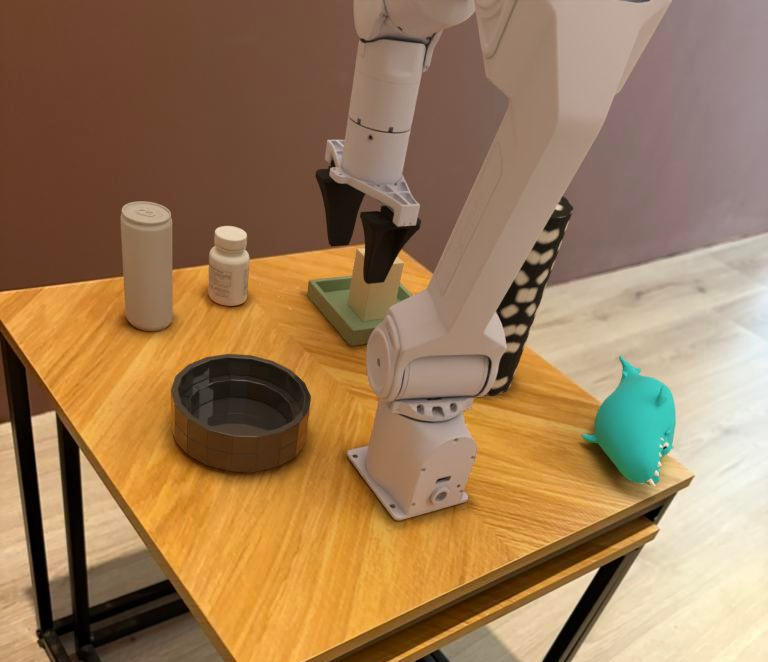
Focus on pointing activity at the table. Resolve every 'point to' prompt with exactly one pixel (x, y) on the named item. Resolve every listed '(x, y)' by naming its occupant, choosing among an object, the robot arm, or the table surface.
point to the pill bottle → (229, 267)
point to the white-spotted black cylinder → (528, 294)
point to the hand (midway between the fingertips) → (355, 262)
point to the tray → (344, 307)
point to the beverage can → (147, 265)
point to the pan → (239, 412)
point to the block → (373, 290)
